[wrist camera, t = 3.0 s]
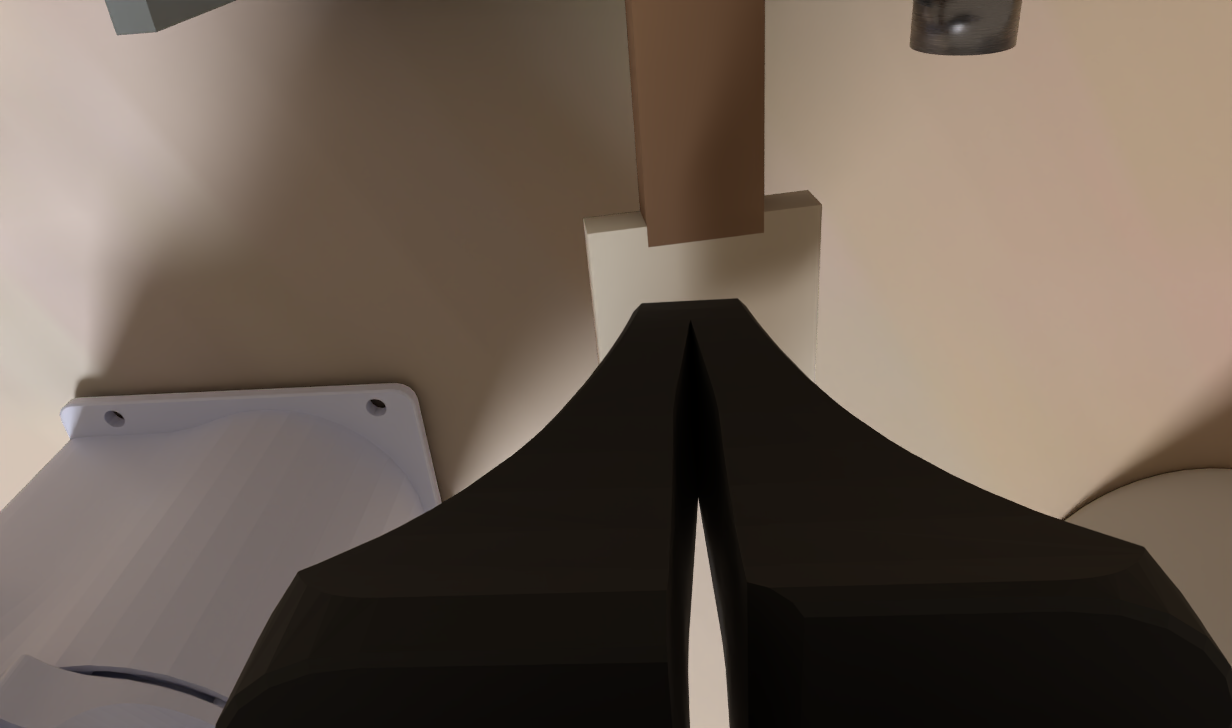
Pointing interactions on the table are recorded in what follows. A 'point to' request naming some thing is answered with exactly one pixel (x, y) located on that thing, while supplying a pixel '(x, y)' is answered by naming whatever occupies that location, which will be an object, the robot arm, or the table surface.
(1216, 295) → the table surface
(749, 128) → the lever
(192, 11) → the grey open box
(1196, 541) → the mug
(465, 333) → the table surface
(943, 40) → the stand
